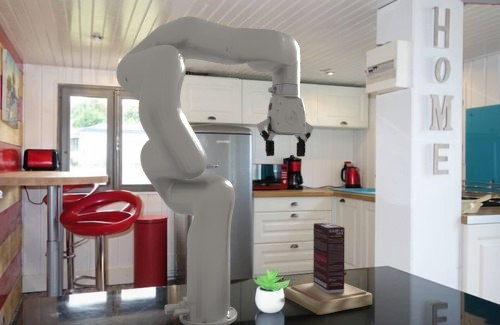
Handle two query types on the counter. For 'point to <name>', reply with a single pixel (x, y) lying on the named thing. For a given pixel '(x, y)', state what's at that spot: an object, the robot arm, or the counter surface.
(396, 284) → the counter surface
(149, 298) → the counter surface
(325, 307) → the oak stand
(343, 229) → the supplement box
